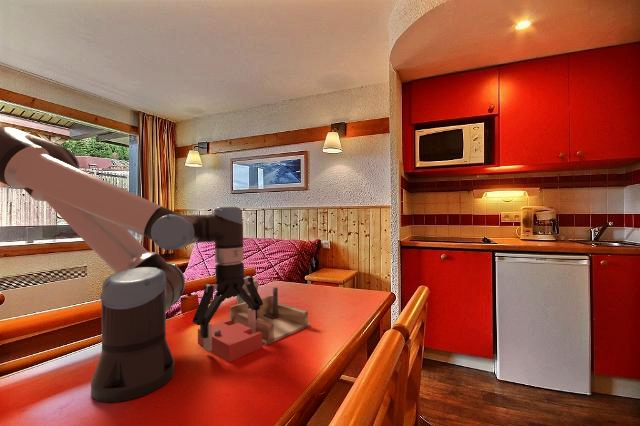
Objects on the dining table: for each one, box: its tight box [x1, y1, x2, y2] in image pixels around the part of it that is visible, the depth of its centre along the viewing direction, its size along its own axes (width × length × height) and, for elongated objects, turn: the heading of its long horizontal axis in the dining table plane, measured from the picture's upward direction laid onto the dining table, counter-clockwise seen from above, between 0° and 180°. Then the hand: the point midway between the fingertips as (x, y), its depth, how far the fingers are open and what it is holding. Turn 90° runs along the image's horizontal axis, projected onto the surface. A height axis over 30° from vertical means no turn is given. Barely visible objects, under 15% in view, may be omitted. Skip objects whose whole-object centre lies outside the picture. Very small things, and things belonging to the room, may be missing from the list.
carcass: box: [229, 286, 311, 346], centre depth 92 cm, size 18×18×11 cm
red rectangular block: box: [197, 318, 263, 363], centre depth 79 cm, size 16×10×5 cm, turn 49°
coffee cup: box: [236, 278, 260, 304], centre depth 105 cm, size 8×8×12 cm
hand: (231, 340), depth 79 cm, fingers open, 13 cm apart
